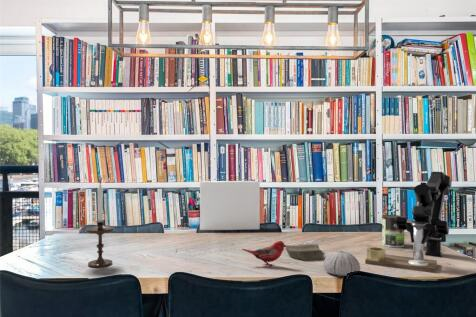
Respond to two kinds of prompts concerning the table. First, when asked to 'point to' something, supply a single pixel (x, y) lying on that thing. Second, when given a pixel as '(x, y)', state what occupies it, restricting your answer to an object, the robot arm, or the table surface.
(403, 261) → the walnut board
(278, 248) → the decorative bird figurine
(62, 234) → the table surface
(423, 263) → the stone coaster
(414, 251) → the silver flared column
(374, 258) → the brass collar
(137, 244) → the table surface
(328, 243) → the table surface
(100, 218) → the candlestick
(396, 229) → the coffee can
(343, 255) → the sea urchin shell
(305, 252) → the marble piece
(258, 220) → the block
